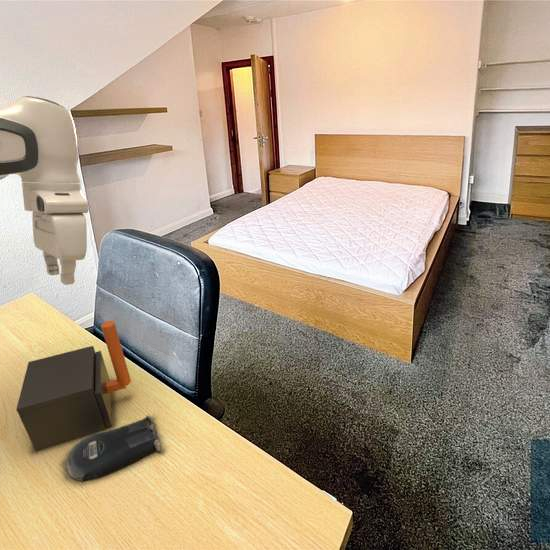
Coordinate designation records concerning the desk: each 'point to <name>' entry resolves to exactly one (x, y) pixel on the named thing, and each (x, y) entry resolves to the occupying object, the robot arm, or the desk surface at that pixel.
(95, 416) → the brown drawer cube
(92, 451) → the electronic device
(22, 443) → the desk surface
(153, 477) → the desk surface
